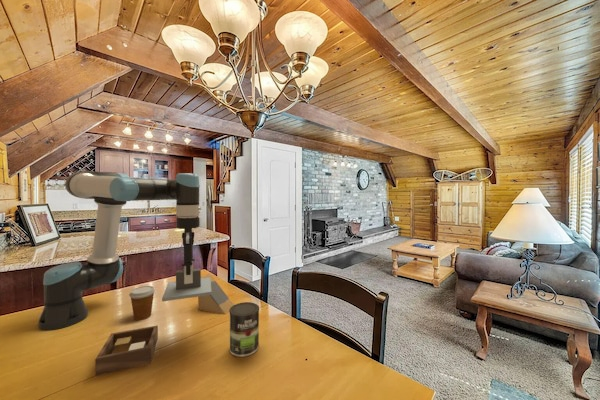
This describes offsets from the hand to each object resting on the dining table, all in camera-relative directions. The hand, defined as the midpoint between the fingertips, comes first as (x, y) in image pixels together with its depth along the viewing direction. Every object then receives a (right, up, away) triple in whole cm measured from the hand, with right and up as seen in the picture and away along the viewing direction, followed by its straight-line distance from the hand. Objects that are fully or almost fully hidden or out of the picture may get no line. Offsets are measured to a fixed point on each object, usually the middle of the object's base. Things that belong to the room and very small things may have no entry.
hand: (188, 281), depth 89 cm
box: (-16, -23, -8) cm, 29 cm away
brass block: (-19, -22, -6) cm, 30 cm away
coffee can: (+20, -23, -1) cm, 31 cm away
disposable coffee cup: (-29, -22, +19) cm, 41 cm away
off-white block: (-13, -22, -9) cm, 27 cm away
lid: (0, -3, 0) cm, 3 cm away
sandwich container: (+1, -22, +28) cm, 36 cm away
